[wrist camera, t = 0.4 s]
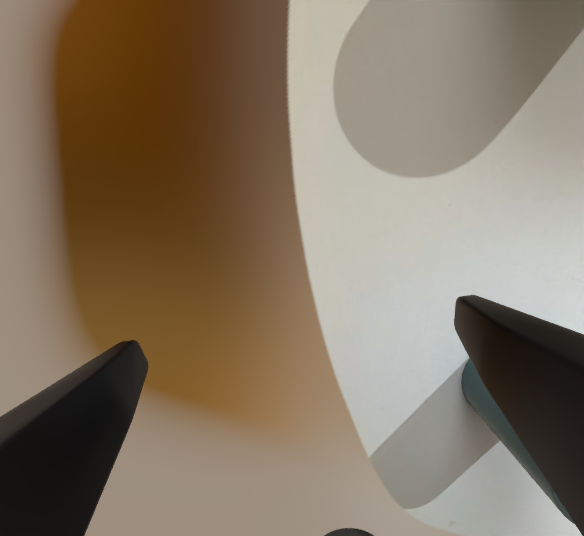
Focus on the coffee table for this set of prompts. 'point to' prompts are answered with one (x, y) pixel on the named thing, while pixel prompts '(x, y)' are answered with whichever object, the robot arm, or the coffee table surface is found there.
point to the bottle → (503, 429)
